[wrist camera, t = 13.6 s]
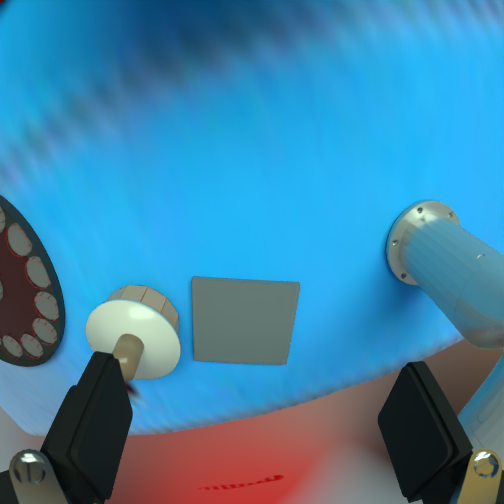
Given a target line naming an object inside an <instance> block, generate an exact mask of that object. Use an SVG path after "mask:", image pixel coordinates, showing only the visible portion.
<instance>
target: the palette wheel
mask: <svg viewBox="0 0 504 504" xmlns="http://www.w3.org/2000/svg"><path fill="white" fill-rule="evenodd" d="M64 327H65V309H64V301H63V296H62V292H61V288H60V284H59V281H58V278H57V275H56V272H55V270H54V267H53V265H52V262H51V260H50V258H49V256H48V254H47V252H46V250H45V248H44V246H43V245H42V243H41V241H40V239H39V238H38V236H37V235H36V233H35V232H34V230H33V229H32V227H31V226H30V224H29V223H28V222H27V221H26V219H25V218H24V217H23V216H22V214H21V213H20V212H19V211H18V210H17V209H16V208H15V207H14V206H13V205H12V204H11V203H10V202H8V201H7V200H6V199H5V198H4V197H2V196H1V195H0V359H1V360H3V361H5V362H7V363H10V364H13V365H17V366H24V367H32V366H37V365H40V364H42V363H44V362H46V361H47V360H48V359H49V358H50V357H51V356H52V355H53V353H54V352H55V350H56V349H57V347H58V346H59V344H60V342H61V340H62V336H63V333H64Z"/></svg>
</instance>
